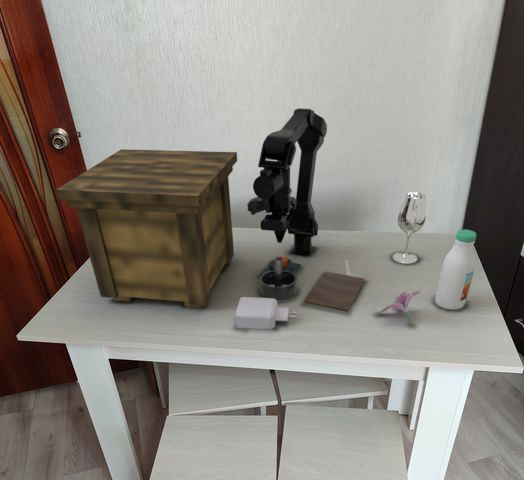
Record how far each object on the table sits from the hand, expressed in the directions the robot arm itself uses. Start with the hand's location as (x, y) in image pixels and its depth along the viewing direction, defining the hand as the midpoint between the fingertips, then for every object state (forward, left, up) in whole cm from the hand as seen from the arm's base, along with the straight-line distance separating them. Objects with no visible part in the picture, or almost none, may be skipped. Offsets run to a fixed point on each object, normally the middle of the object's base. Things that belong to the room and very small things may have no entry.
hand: (279, 242), depth 133 cm
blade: (+8, +3, -11) cm, 14 cm away
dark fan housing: (+8, +3, -12) cm, 14 cm away
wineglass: (-26, +32, -12) cm, 43 cm away
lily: (+8, +37, -12) cm, 39 cm away
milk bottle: (-4, +48, -12) cm, 49 cm away
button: (-4, -1, -9) cm, 10 cm away
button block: (-4, -1, -12) cm, 12 cm away
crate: (+13, -29, -12) cm, 34 cm away
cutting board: (+2, +18, -12) cm, 21 cm away
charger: (+22, +6, -12) cm, 26 cm away
